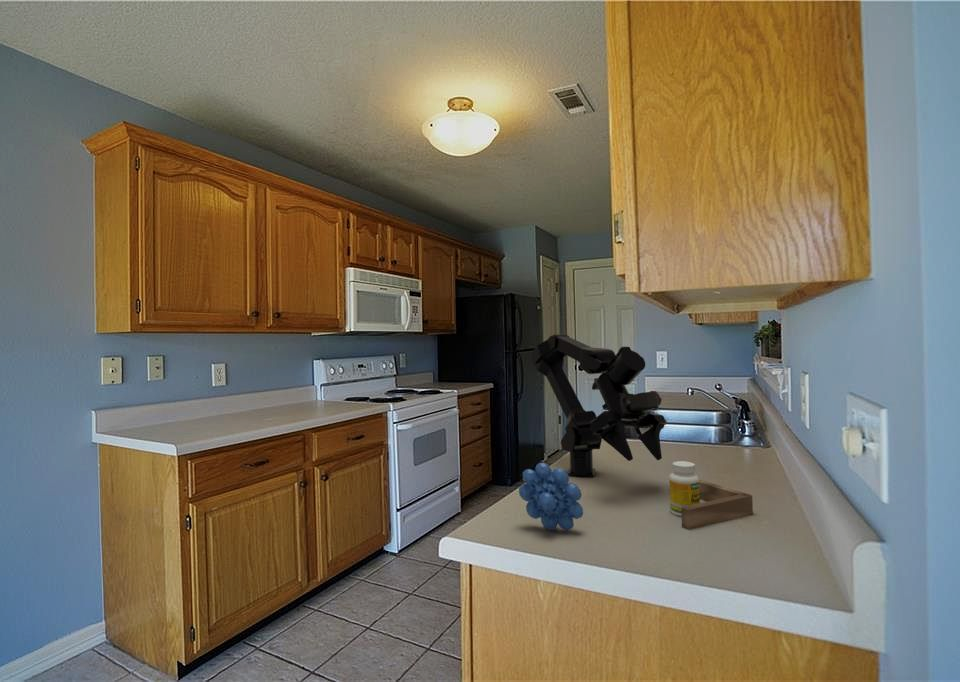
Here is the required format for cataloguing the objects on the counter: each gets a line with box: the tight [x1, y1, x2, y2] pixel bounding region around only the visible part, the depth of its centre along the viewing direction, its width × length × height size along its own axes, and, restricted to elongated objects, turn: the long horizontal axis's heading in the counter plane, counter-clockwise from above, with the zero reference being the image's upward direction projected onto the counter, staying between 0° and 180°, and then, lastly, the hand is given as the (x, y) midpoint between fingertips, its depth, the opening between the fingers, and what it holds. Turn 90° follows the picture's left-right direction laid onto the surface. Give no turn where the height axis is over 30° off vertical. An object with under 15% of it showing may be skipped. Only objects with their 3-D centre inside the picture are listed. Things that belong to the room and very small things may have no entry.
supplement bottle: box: [669, 460, 701, 518], centre depth 95 cm, size 5×5×10 cm
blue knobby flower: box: [518, 462, 584, 531], centre depth 87 cm, size 12×7×12 cm, turn 70°
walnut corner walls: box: [681, 479, 754, 531], centre depth 97 cm, size 16×17×4 cm
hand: (645, 459), depth 103 cm, fingers open, 9 cm apart
